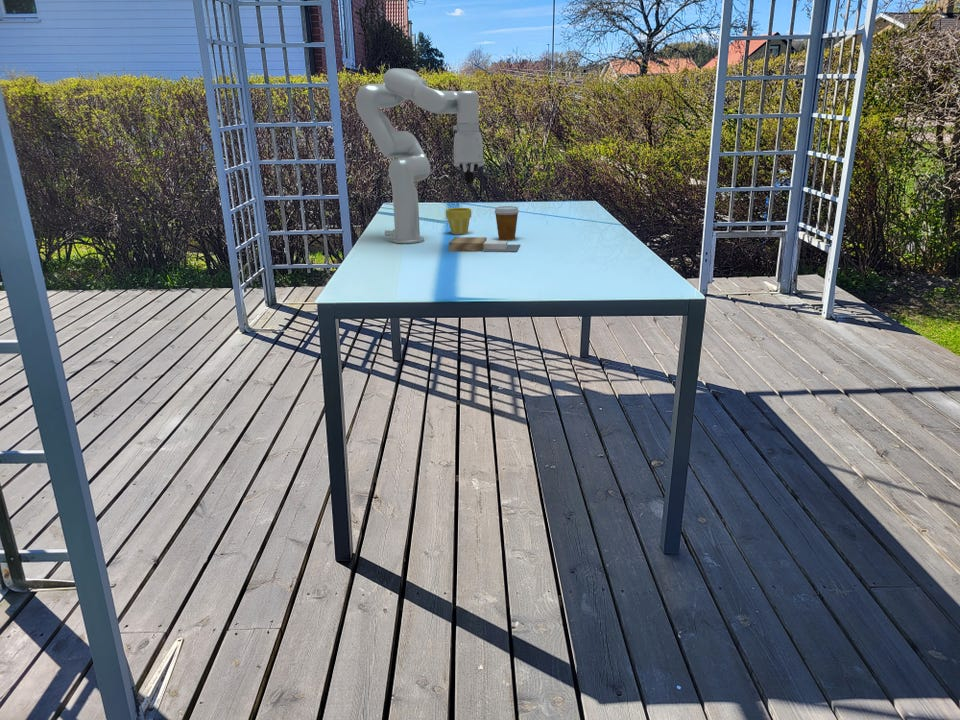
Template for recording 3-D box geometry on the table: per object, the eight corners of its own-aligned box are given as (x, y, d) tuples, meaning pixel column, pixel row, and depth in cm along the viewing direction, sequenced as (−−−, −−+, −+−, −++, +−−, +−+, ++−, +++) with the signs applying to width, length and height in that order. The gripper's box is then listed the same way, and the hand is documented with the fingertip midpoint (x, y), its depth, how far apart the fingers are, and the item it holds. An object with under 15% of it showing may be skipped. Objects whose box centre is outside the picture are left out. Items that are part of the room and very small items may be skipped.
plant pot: (443, 232, 294) (443, 208, 290) (467, 230, 296) (467, 206, 293) (450, 236, 284) (449, 211, 281) (474, 234, 287) (474, 209, 284)
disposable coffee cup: (521, 237, 279) (521, 206, 275) (516, 241, 270) (516, 209, 266) (497, 236, 281) (497, 205, 277) (492, 240, 272) (491, 209, 268)
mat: (483, 251, 251) (483, 250, 251) (488, 245, 264) (488, 244, 263) (517, 252, 250) (517, 251, 250) (520, 245, 262) (520, 244, 262)
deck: (449, 251, 254) (448, 242, 253) (454, 245, 265) (454, 237, 264) (482, 251, 252) (482, 243, 251) (486, 245, 263) (486, 237, 262)
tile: (483, 249, 254) (483, 243, 254) (485, 246, 260) (485, 240, 259) (505, 249, 253) (505, 243, 253) (507, 246, 259) (507, 240, 258)
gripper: (444, 129, 242) (446, 184, 248) (488, 128, 240) (488, 184, 246) (448, 129, 249) (450, 182, 255) (490, 128, 247) (491, 182, 253)
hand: (469, 183), depth 251 cm, fingers closed
